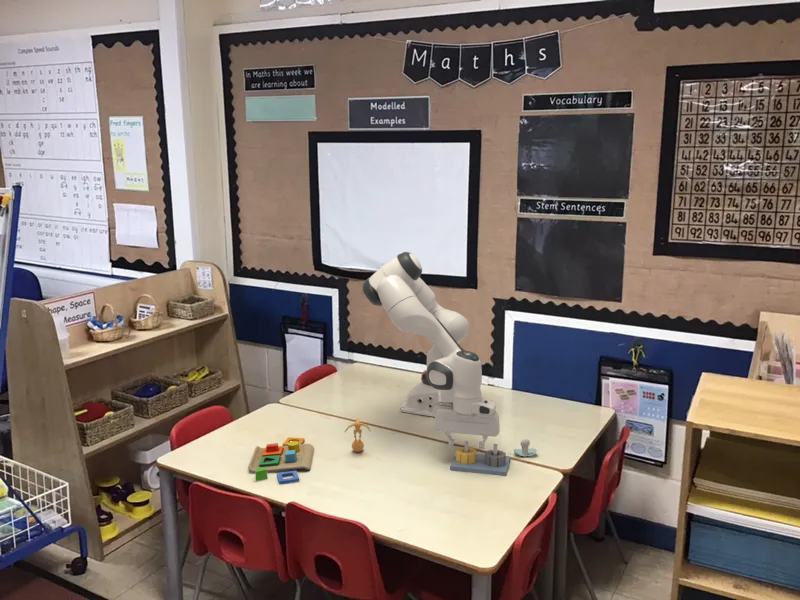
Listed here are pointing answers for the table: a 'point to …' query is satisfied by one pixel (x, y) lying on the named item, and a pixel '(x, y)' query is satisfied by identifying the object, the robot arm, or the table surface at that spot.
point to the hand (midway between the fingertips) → (466, 446)
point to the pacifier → (525, 449)
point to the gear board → (484, 462)
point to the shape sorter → (282, 459)
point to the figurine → (358, 444)
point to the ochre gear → (466, 455)
